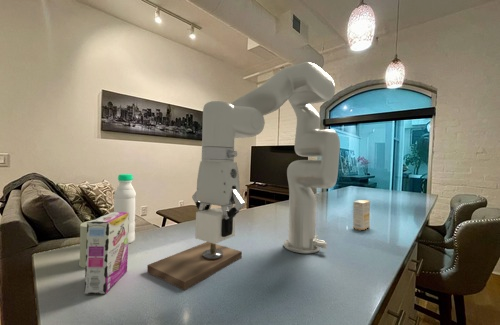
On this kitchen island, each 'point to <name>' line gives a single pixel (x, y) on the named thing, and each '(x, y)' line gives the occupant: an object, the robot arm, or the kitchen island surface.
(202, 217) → the cream stepped block
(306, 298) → the kitchen island surface
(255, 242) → the kitchen island surface
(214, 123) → the robot arm
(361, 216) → the supplement box
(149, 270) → the panel
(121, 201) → the water bottle
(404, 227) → the kitchen island surface
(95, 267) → the candy bar box
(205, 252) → the t key
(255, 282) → the kitchen island surface
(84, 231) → the can
